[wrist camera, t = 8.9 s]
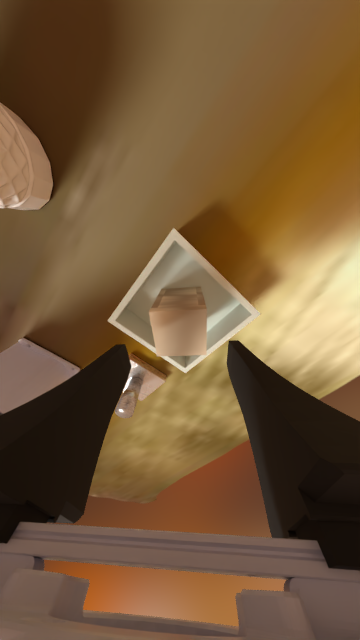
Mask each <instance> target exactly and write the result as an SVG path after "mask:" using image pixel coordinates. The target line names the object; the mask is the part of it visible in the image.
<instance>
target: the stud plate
mask: <svg viewBox="0 0 360 640" xmlns="http://www.w3.org/2000/svg"><path fill="white" fill-rule="evenodd" d="M129 359H130V362H131V370H130V373H129V377H128V380H127V382H126V384H125V387H124V389H123V393H122V395H121V398H120V400H119V402H118V405H117V407H116V409H115V413H116V414H117V415H118V416H120V417H122V418H130V417H132V415H133V412H134V409H135V406H136V403H137V400H138V399H139V400H141V401H142V400H143V399H144V398H146V397H147V396H148V395H149V394H151V393H152V392H153V391H154V390H156V389H157V388H158V387H159V386H160V385H162V384H163V383H164V382H165V381H166V375H165V374H163V373H162V372H160V371H159V370H157V369H155V368H154V367H152V366H151V365H149V364H148V363H146V362H144V361H143V360H141V359H140V358H138V357H136V356H135V355H133V354H132V353H131V354H130V355H129Z"/></svg>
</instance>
